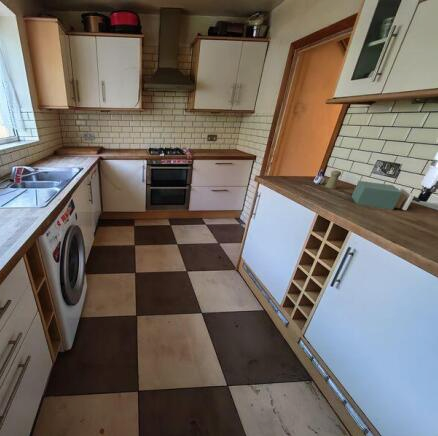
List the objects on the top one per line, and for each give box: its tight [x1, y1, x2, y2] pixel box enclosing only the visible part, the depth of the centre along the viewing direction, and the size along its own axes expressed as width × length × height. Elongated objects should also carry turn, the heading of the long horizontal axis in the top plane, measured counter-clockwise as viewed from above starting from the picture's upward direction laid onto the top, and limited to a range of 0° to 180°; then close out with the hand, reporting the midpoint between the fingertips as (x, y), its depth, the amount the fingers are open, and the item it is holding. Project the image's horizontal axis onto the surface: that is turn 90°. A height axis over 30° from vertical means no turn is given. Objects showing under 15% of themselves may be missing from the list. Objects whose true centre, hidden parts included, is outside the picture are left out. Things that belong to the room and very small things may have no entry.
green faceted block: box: [351, 180, 402, 211], centre depth 123 cm, size 15×15×10 cm
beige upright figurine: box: [324, 169, 342, 190], centre depth 148 cm, size 6×6×11 cm
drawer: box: [394, 187, 422, 211], centre depth 120 cm, size 18×13×8 cm
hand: (421, 200), depth 115 cm, fingers closed
